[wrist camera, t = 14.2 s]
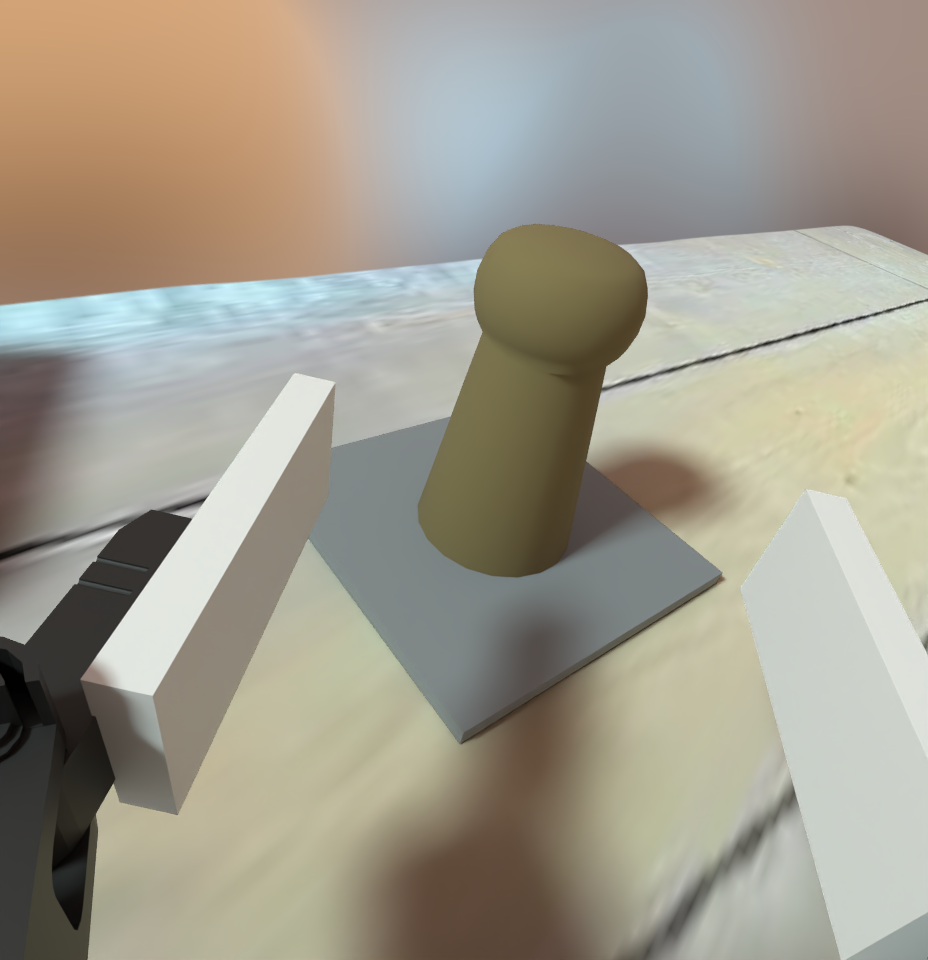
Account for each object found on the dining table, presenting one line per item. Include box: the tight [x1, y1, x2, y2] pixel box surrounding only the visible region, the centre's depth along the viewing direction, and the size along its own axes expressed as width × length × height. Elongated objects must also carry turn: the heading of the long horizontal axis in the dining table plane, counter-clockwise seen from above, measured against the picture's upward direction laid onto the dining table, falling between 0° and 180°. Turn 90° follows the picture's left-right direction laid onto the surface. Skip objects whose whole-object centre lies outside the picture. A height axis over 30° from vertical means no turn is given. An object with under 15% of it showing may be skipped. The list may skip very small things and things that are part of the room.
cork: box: [418, 224, 648, 578], centre depth 22 cm, size 6×6×11 cm
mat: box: [308, 417, 722, 744], centre depth 26 cm, size 13×13×1 cm
